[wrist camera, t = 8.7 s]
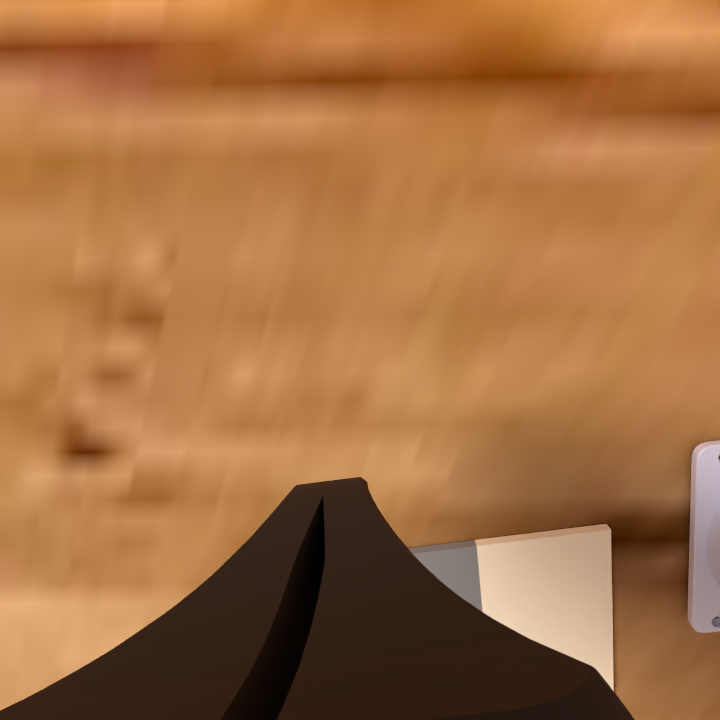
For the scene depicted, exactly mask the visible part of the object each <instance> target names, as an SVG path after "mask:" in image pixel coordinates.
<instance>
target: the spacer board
mask: <svg viewBox="0 0 720 720" xmlns="http://www.w3.org/2000/svg"><path fill="white" fill-rule="evenodd" d="M408 549H409V550H410V551H411V552H412V554H413V555H414V556H415V557H416V558H417V559H418V560H419V561H420V562H421V563H422V564H423V565H424V566H425V567H426V568H427V569H428V570H429V571H430V572H431V573H433V574H434V575H435V576H436V577H437V578H438V579H439V580H440V581H441V582H443V583H444V584H445V585H446V586H447V587H449V588H450V589H451V590H452V591H454V592H455V593H456V594H457V595H458V596H460V597H461V598H463V599H464V600H466V601H467V602H469V603H470V604H472V605H473V606H475V607H476V608H477V609H479V610H480V611H482V612H483V613H485V614H486V615H488V616H489V617H491V618H493V619H494V620H496V621H498V622H500V623H502V624H503V625H505V626H507V627H509V628H511V629H512V630H514V631H516V632H518V633H520V634H521V635H523V636H525V637H527V638H529V639H531V640H533V641H536V642H538V643H540V644H543V645H545V646H547V647H549V648H552V649H554V650H556V651H559V652H561V653H563V654H565V655H568V656H570V657H572V658H575V659H577V660H579V661H581V662H584V663H586V664H588V665H591V666H593V667H594V668H595V669H596V670H597V671H598V672H599V673H600V674H601V676H602V677H603V678H604V679H605V681H606V682H607V683H608V685H609V686H610V687H611V689H612V690H613V691H614V679H613V618H612V558H611V529H610V528H609V526H608V525H607V524H600V525H592V526H584V527H576V528H568V529H560V530H551V531H543V532H535V533H527V534H519V535H511V536H502V537H494V538H486V539H478V540H470V541H462V542H454V543H445V544H437V545H429V546H421V547H413V548H408Z"/></svg>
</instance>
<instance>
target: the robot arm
mask: <svg viewBox="0 0 720 720" xmlns="http://www.w3.org/2000/svg"><path fill="white" fill-rule="evenodd" d="M719 454H720V440H717V441H709V442H704V443H701V444H699V445H698V446H697V447H696V448H695V449H694V450H693V453H692V463H691V502H690V541H689V580H688V623H689V624H690V625H691V626H692V628H693V629H694V630H695V631H697V632H699V633H709V632H718V631H720V459H718V457H719ZM717 616H718V617H717ZM715 617H717V618H716V619H714V618H715ZM713 619H714V620H713ZM0 720H634V718H633V717H632V716H631V714H630V713H629V711H628V710H627V709H626V707H625V706H624V704H623V703H622V702H621V700H620V699H619V698H618V697H617V695H616V694H615V693H614V691H613V690H612V689H611V687H610V686H609V685H608V683H607V682H606V681H605V679H604V678H603V677H602V676H601V674H600V673H599V672H598V671H597V670H596V669H595V668H594V667H593V666H591V665H588V664H586V663H584V662H581V661H579V660H577V659H575V658H572V657H570V656H568V655H565V654H563V653H561V652H559V651H556V650H554V649H552V648H549V647H547V646H545V645H543V644H540V643H538V642H536V641H533V640H531V639H529V638H527V637H525V636H523V635H521V634H520V633H518V632H516V631H514V630H512V629H511V628H509V627H507V626H505V625H503V624H502V623H500V622H498V621H496V620H494V619H493V618H491V617H489V616H488V615H486V614H485V613H483V612H482V611H480V610H479V609H477V608H476V607H475V606H473V605H472V604H470V603H469V602H467V601H466V600H464V599H463V598H461V597H460V596H458V595H457V594H456V593H455V592H454V591H452V590H451V589H450V588H449V587H447V586H446V585H445V584H444V583H443V582H441V581H440V580H439V579H438V578H437V577H436V576H435V575H434V574H433V573H431V572H430V571H429V570H428V569H427V568H426V567H425V566H424V565H423V564H422V563H421V562H420V561H419V560H418V559H417V558H416V557H415V556H414V555H413V554H412V552H411V551H410V550H409V549H408V548H407V547H406V546H405V544H404V543H403V542H402V541H401V540H400V539H399V537H398V536H397V535H396V534H395V532H394V531H393V530H392V528H391V527H390V525H389V524H388V523H387V521H386V520H385V518H384V517H383V516H382V514H381V512H380V511H379V509H378V508H377V506H376V504H375V502H374V500H373V499H372V497H371V494H370V492H369V489H368V484H367V482H366V481H365V480H364V479H363V478H361V477H357V478H349V479H341V480H333V481H325V482H317V483H309V484H301V485H296V486H295V487H294V488H293V489H292V491H291V492H290V493H289V494H288V495H287V496H286V498H285V499H284V500H283V501H282V502H281V503H280V505H279V506H278V507H277V508H276V509H275V511H274V512H273V513H272V514H271V515H270V516H269V517H268V519H267V520H266V521H265V522H264V523H263V524H262V525H261V526H260V527H259V529H258V530H257V531H256V532H255V533H254V534H253V535H252V536H251V537H250V539H249V540H248V541H247V542H246V543H245V544H243V545H242V546H241V547H240V548H239V549H238V550H237V551H236V552H235V553H234V554H233V555H232V556H231V557H230V558H229V559H228V560H227V561H226V562H225V563H224V564H223V565H222V566H221V567H220V568H219V569H218V570H217V571H216V572H215V573H214V574H213V575H212V576H211V577H209V578H208V579H207V580H206V581H205V582H204V583H203V584H201V585H200V586H199V587H198V588H197V589H195V590H194V591H193V592H192V593H190V594H189V595H188V596H187V597H185V598H184V599H183V600H182V601H180V602H179V603H178V604H177V605H176V606H174V607H173V608H172V609H170V610H169V611H168V612H166V613H165V614H163V615H162V616H161V617H159V618H158V619H156V620H155V621H153V622H152V623H150V624H149V625H147V626H146V627H144V628H143V629H142V630H140V631H139V632H137V633H136V634H134V635H133V636H131V637H130V638H128V639H127V640H125V641H124V642H123V643H121V644H120V645H118V646H117V647H115V648H114V649H112V650H110V651H109V652H107V653H106V654H104V655H102V656H100V657H99V658H97V659H95V660H94V661H92V662H90V663H89V664H87V665H85V666H84V667H82V668H80V669H79V670H77V671H75V672H73V673H72V674H70V675H68V676H66V677H64V678H63V679H61V680H59V681H57V682H55V683H54V684H52V685H50V686H48V687H46V688H45V689H43V690H41V691H39V692H37V693H35V694H33V695H31V696H29V697H27V698H25V699H24V700H22V701H19V702H17V703H15V704H13V705H11V706H9V707H7V708H5V709H3V710H1V711H0Z"/></svg>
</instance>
